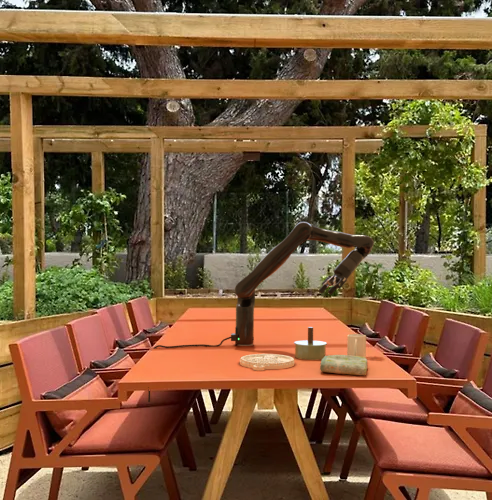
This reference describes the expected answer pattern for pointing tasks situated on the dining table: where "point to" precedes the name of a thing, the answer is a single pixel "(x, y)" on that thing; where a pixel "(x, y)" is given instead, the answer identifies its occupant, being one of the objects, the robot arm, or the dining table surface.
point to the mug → (356, 345)
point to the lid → (310, 340)
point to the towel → (344, 364)
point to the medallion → (266, 361)
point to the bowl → (310, 352)
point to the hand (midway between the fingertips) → (324, 292)
